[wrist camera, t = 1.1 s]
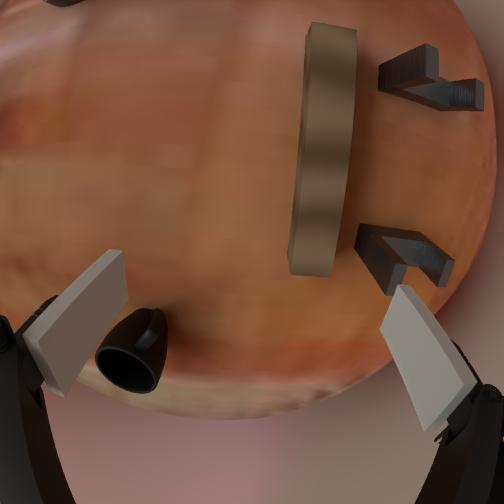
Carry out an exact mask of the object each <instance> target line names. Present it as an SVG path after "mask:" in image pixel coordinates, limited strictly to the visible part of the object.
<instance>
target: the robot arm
mask: <svg viewBox="0 0 504 504" xmlns="http://www.w3.org/2000/svg"><path fill="white" fill-rule="evenodd" d="M43 1H45V2H47V3H49V4H52V5H54V6H59V7H63V6H68V5H72V4H75V3H77V2H80V1H82V0H43ZM127 301H128V293H127V285H126V276H125V267H124V256H123V251H121V250H114V249H109V250H108V251H107V252H105V253H104V254H103V255H102V256H101V257H100V258H99V259H97V260H96V261H95V262H94V263H93V264H92V265H91V266H90V267H89V268H88V269H86V270H85V271H84V272H83V273H82V274H81V275H80V276H79V277H78V278H77V279H76V280H75V281H74V282H73V283H72V284H71V285H70V286H69V287H67V288H66V289H65V290H64V291H63V292H62V293H61V294H60V295H59V296H58V295H55V296H54V297H52V298H50V299H48V300H46V301H45V302H44V303H43V304H42V305H41V306H40V307H39V309H37V310H36V311H35V312H34V314H33V315H32V316H31V317H30V318H29V319H28V320H27V321H26V322H25V323H24V324H23V325H22V326H21V327H20V328H19V329H18V331H17V332H16V333H15V334H14V333H13V330H12V328H11V326H10V323H9V321H8V319H7V318H6V317H5V316H2V315H0V503H1V504H76V503H75V501H74V498H73V496H72V493H71V491H70V488H69V486H68V483H67V481H66V478H65V475H64V472H63V469H62V466H61V463H60V460H59V457H58V454H57V451H56V447H55V443H54V440H53V436H52V432H51V428H50V424H49V419H48V415H47V410H46V405H45V400H44V394H43V390H42V388H41V384H42V383H43V381H45V382H46V384H47V386H48V388H49V389H50V391H53V392H55V393H57V394H59V395H61V396H64V397H66V395H67V393H68V392H69V390H70V388H71V387H72V385H73V383H74V382H75V380H76V378H77V377H78V375H79V373H80V372H81V370H82V369H83V367H84V365H85V364H86V362H87V361H88V359H89V357H90V356H91V354H92V353H93V351H94V350H95V348H96V347H97V345H98V344H99V342H100V341H101V339H102V338H103V336H104V335H105V333H106V332H107V330H108V329H109V327H110V326H111V324H112V323H113V321H114V320H115V318H116V317H117V315H118V314H119V313H120V311H121V310H122V308H123V307H124V305H125V304H126V303H127ZM380 331H381V333H382V335H383V337H384V339H385V341H386V343H387V345H388V347H389V350H390V352H391V354H392V356H393V358H394V360H395V363H396V365H397V367H398V369H399V372H400V374H401V376H402V378H403V381H404V383H405V386H406V388H407V390H408V393H409V395H410V398H411V400H412V402H413V405H414V407H415V410H416V413H417V415H418V417H419V420H420V423H421V426H422V428H423V431H424V432H425V431H429V430H433V429H437V428H439V427H440V426H441V425H442V423H443V422H444V421H445V420H446V419H447V421H448V424H449V425H448V426H447V427H446V428H445V429H444V430H443V431H442V432H441V433H440V434H439V435H438V436H437V437H436V438H435V440H434V442H436V441H437V440H438V439H440V438H441V437H442V439H441V441H440V442H439V444H440V445H439V448H438V451H437V453H436V456H435V459H434V461H433V464H432V466H431V469H430V471H429V474H428V476H427V478H426V480H425V483H424V485H423V487H422V489H421V492H420V493H419V496H418V498H417V500H416V502H415V504H504V441H503V437H504V396H502V394H501V392H500V391H499V390H498V389H497V388H496V387H495V386H493V385H490V384H484V385H483V383H482V382H481V380H480V378H479V377H478V375H477V373H476V372H475V370H474V369H473V367H472V366H471V364H470V363H469V362H468V359H467V358H466V356H464V353H463V352H462V350H461V349H460V347H459V346H458V345H457V344H456V343H455V342H454V341H452V340H451V339H449V337H448V335H447V334H446V333H445V331H444V330H443V328H442V327H441V326H440V324H439V323H438V321H437V320H436V319H435V317H434V316H433V314H432V313H431V312H430V310H429V309H428V308H427V306H426V305H425V304H424V302H423V301H422V300H421V299H420V297H419V296H418V295H417V293H416V292H415V291H414V290H413V288H412V287H411V286H410V285H401V284H398V285H397V288H396V291H395V293H394V296H393V298H392V301H391V303H390V306H389V308H388V311H387V313H386V315H385V318H384V320H383V323H382V325H381V327H380Z"/></svg>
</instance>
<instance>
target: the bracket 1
mask: <svg viewBox="0 0 504 504" xmlns="http://www.w3.org/2000/svg"><path fill="white" fill-rule="evenodd" d="M378 90H379V91H383V92H386V93H389V94H393V95H396V96H399V97H402V98H405V99H409V100H411V101H414V102H417V103H420V104H423V105H426V106H428V107H431V108H434V109H436V110H439V111H482V112H484V83H483V82H481V81H480V80H478V79H476V78H474V79H466V80H459V81H452V82H449V81H447V80H445V79H443V78H441V77H439V65H438V49H437V48H435V47H433V46H431V45H428V44H426V43H425V44H423V45H421V46H418V47H416V48H414V49H412V50H410V51H407V52H405V53H403V54H401V55H399V56H397V57H395V58H393V59H391V60H389V61H387V62H385V63H383V64H381V65H379V77H378Z"/></svg>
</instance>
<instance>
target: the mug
mask: <svg viewBox="0 0 504 504" xmlns="http://www.w3.org/2000/svg"><path fill="white" fill-rule="evenodd" d="M167 332H168V327H167V323H166V322H165V320H164V313H163V312H162V311H161V310H160V309H158V308H155V309H154V310H150V309H146V308H142V309H138V310H136V311H134V312H133V313H132V314H130V315H129V316H127V317H126V318H124V319H123V320H122V321H120V322H119V323H118V324H117V325H116V326H115V327H114V328H113V329H112V330H111V331H110V332H109V333H108V335H107V336H106V337H105V339H104V340H103V342H102V343H101V345H100V346H99V348H98V350H97V351H96V354H95V361H96V365H97V367H98V368H99V370H100V372H101V373H102V374H103V375H104V376H105V377H106V378H107V379H108V380H109V381H110V382H112V383H113V384H114V385H116V386H118V387H120V388H122V389H124V390H126V391H129V392H133V393H139V394H144V393H149V392H151V391H153V390H154V389H155V388H156V387H157V385H158V382H159V379H160V377H161V374H162V371H163V368H164V364H165V360H166V354H167Z"/></svg>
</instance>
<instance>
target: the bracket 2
mask: <svg viewBox="0 0 504 504" xmlns="http://www.w3.org/2000/svg"><path fill="white" fill-rule="evenodd" d="M354 249H355V250H356V252H357V253H358V255H359V256H360V258H361V259H362V261H363V262H364V264H365V265H366V267H367V268H368V270H369V271H370V273H371V274H372V276H373V277H374V279H375V280H376V282H377V283H378V285H379V286H380V288H381V289H382V291H383V293H384V294H385V296H394V293H395V291H396V288H397V285H398V284H401V283H402V280H403V277H404V274H405V271H406V268H407V266H415V267H419V268H420V269H421V270H422V271H423V272H424V273H425V274H426V275H427V276H428V277H429V279H430V280H431V281H432V282H433V283H434V284H435V285H436V286H437V287H446V285H447V282H448V279H449V277H450V274H451V271H452V268H453V265H454V263H455V260H454V259H452V258H451V257H450V256H449V255H448V254H446V253H445V252H444V251H443V250H442V249H440V248H439V247H438V246H437V245H436V244H434V243H433V242H432V241H431V240H429V239H428V238H427V237H426V236H424V235H423V234H422V233H420V232H416V231H409V230H403V229H396V228H389V227H382V226H375V225H367V224H360V223H359V228H358V233H357V237H356V242H355V246H354Z"/></svg>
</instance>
